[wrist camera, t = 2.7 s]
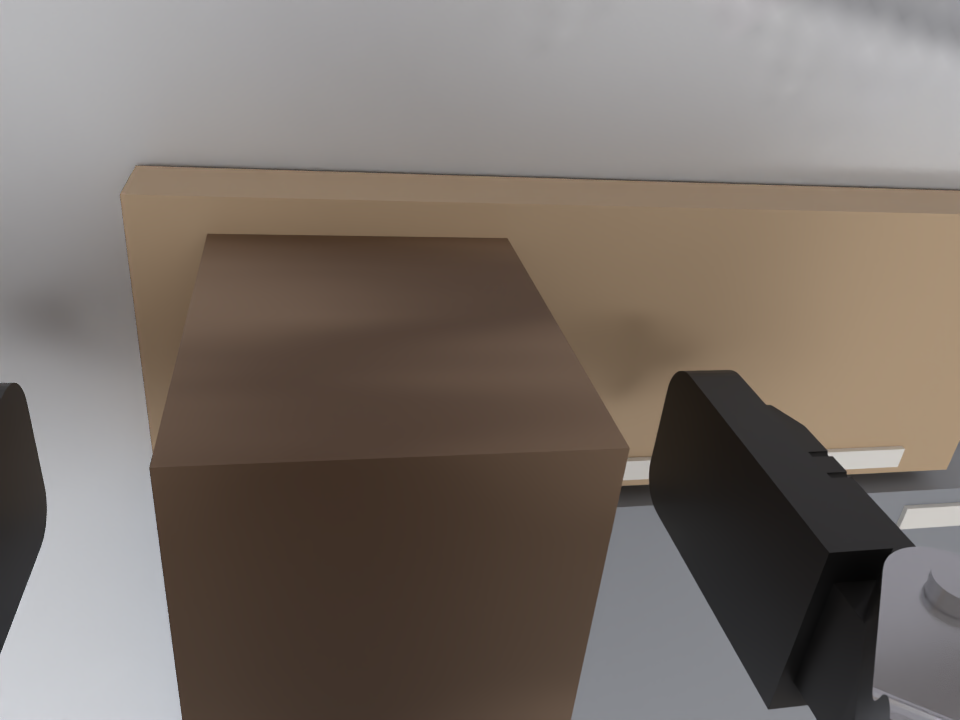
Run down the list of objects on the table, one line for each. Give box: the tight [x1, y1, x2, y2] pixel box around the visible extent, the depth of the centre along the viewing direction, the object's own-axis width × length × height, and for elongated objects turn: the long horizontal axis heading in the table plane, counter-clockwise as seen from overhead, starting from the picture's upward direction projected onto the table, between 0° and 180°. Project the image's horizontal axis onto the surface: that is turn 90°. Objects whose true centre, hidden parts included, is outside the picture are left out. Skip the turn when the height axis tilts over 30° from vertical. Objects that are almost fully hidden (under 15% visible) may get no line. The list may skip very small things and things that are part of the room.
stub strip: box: [120, 166, 960, 720], centre depth 11 cm, size 14×5×6 cm, turn 85°
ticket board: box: [571, 441, 960, 720], centre depth 18 cm, size 20×10×2 cm, turn 85°
